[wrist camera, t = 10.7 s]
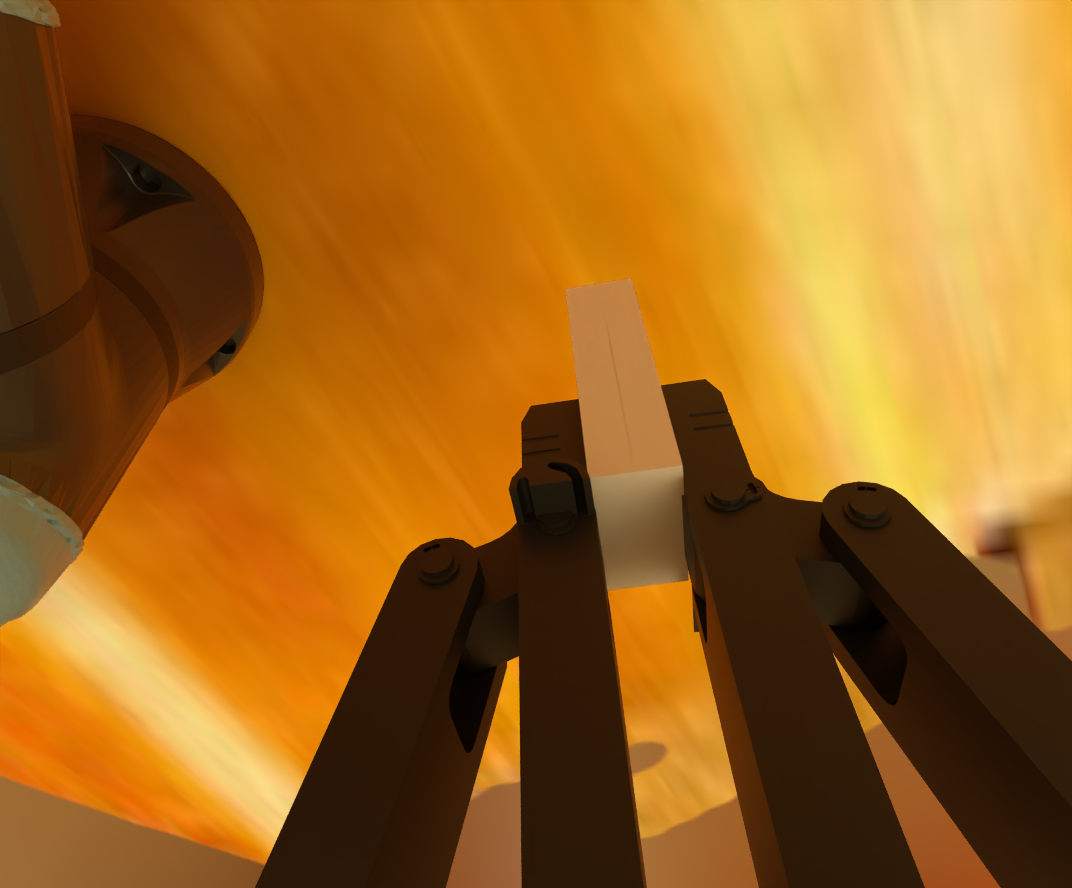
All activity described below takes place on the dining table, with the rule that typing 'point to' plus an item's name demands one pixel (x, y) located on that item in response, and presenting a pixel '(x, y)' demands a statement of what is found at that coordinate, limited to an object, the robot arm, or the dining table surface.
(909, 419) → the dining table surface
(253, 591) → the dining table surface
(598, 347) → the robot arm
